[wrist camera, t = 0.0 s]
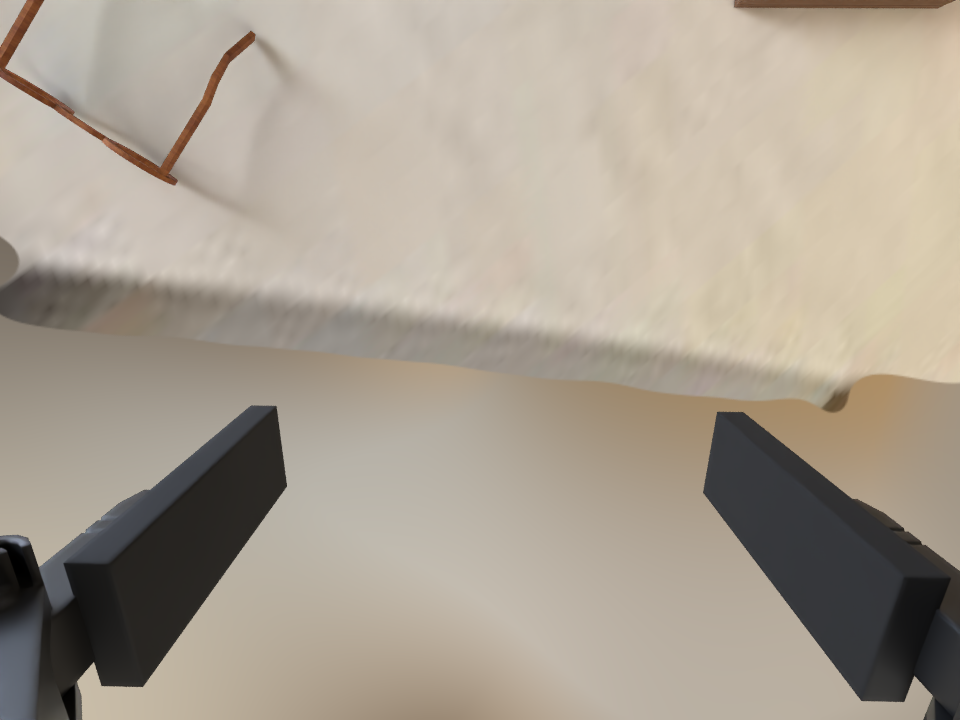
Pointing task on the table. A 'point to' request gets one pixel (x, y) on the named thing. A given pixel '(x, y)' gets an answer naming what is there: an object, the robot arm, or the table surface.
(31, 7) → the glasses
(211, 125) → the table surface
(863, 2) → the tray
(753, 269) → the table surface
